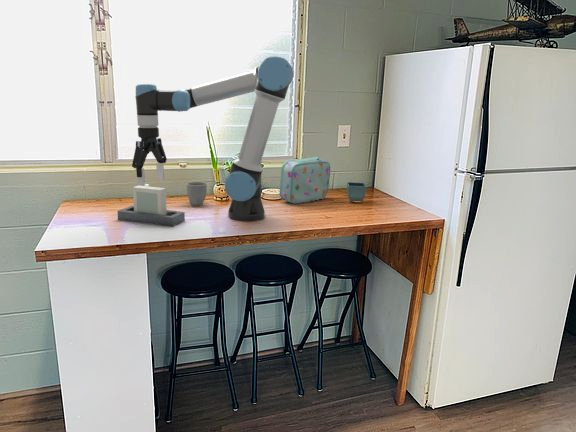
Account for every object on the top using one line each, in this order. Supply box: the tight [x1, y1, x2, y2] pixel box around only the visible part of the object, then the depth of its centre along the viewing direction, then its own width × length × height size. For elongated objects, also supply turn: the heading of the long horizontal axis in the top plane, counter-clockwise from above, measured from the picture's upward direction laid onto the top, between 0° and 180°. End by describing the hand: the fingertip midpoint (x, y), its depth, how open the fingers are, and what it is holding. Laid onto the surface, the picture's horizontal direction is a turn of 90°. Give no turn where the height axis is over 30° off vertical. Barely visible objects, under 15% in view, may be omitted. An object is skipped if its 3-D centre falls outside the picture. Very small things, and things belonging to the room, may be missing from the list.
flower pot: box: [346, 181, 368, 202], centre depth 230 cm, size 9×9×9 cm
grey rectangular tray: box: [117, 205, 186, 227], centre depth 185 cm, size 24×10×4 cm, turn 74°
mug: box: [186, 181, 208, 207], centre depth 213 cm, size 12×9×10 cm
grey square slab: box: [132, 185, 167, 215], centre depth 184 cm, size 12×4×12 cm, turn 74°
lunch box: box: [279, 156, 331, 205], centre depth 227 cm, size 27×10×21 cm, turn 133°
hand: (151, 182), depth 182 cm, fingers open, 13 cm apart
